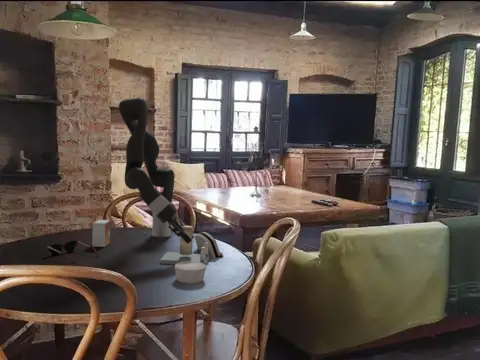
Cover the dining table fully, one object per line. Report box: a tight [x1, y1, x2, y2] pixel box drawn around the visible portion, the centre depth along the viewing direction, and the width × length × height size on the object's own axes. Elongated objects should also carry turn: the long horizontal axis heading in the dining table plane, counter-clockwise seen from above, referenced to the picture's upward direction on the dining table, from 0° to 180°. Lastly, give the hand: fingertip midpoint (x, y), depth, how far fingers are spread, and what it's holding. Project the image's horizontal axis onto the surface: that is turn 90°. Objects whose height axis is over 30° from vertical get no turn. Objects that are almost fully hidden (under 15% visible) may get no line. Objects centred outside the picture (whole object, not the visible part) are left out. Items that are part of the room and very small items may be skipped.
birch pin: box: [179, 225, 194, 255], centre depth 186 cm, size 5×5×11 cm
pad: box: [159, 242, 210, 266], centre depth 187 cm, size 12×18×7 cm, turn 86°
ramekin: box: [174, 262, 207, 284], centre depth 164 cm, size 11×11×5 cm
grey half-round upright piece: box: [193, 231, 224, 259], centre depth 201 cm, size 17×5×10 cm, turn 29°
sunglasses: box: [47, 239, 99, 264], centre depth 185 cm, size 14×16×5 cm
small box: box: [91, 219, 111, 248], centre depth 205 cm, size 8×6×10 cm
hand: (190, 240), depth 186 cm, fingers closed on birch pin, 4 cm apart
